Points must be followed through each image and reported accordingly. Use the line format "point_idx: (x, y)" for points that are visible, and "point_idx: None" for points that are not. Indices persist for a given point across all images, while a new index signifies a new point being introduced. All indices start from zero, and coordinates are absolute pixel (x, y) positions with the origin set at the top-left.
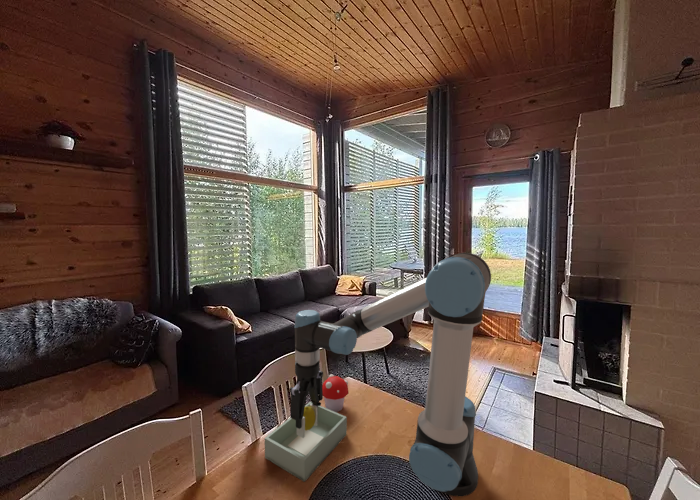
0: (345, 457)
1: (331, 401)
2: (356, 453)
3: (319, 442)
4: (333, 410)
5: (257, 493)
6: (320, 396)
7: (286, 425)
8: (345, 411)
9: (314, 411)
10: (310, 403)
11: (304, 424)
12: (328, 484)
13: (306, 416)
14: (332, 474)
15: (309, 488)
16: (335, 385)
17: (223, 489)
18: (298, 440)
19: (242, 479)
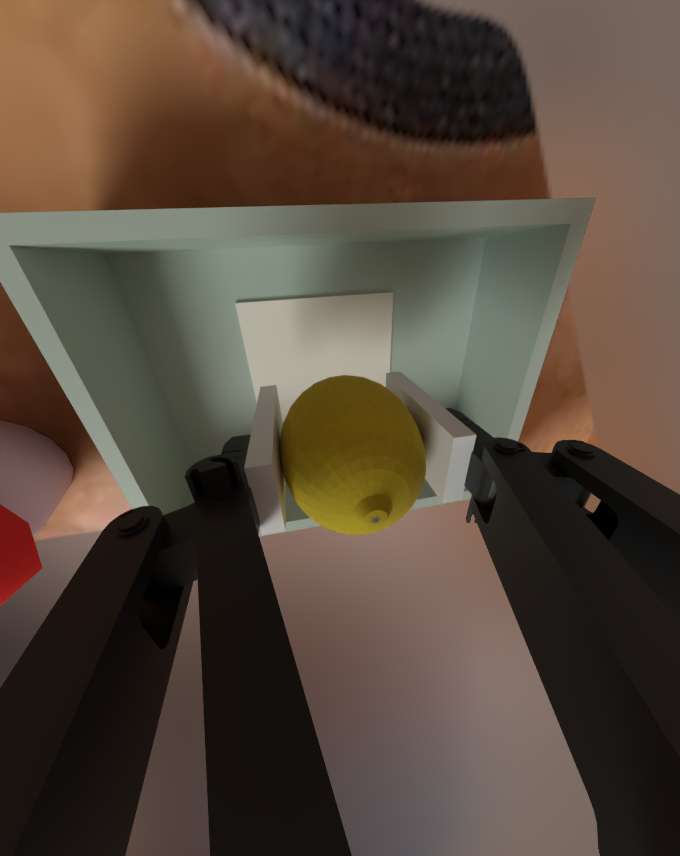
0: (240, 97)
1: (3, 487)
2: (145, 20)
3: (412, 222)
4: (39, 442)
5: (574, 347)
6: (138, 563)
7: None
8: None
9: (275, 452)
10: None
11: (426, 406)
12: (459, 68)
13: (416, 440)
14: (393, 95)
15: (511, 168)
16: None
17: (578, 434)
18: None
19: (540, 425)
